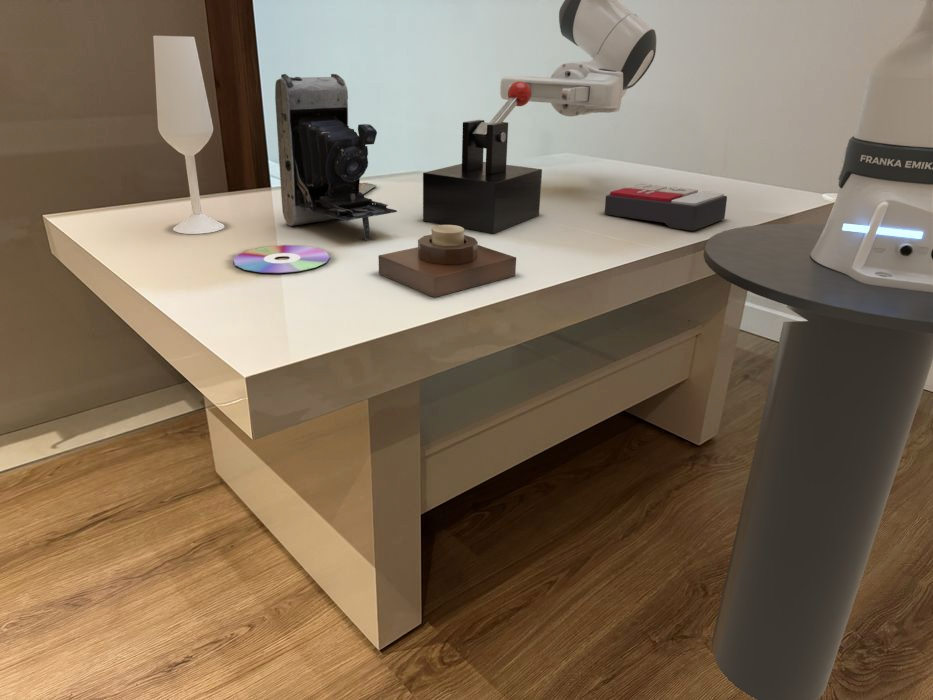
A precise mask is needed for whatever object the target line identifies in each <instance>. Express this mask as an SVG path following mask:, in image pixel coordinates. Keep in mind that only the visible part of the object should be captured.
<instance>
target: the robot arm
mask: <svg viewBox="0 0 933 700" xmlns="http://www.w3.org/2000/svg"><path fill="white" fill-rule="evenodd" d="M920 1H922V2H925V3H924V6H923V9H921V12H920V15H919V16H918V18H917V20H916V22H915V23H914V25H913V27H912V28H911V29H910V30H909V32H908V33H907V35H906V36H905V37H904V38H903V39H902V40H901V41H900V42H899V43H898V44H896V45H895V46H892V48H890V49H888V50H887V51H885V52H883V54H881V55H880V56H879V57H878V58H877V59H876V61H874V63H873V64H872V66H871V68H870V70H869V73H868V76H867V80H866V85H865V89H864V93H863V97H862V101H861V105H860V109H859V113H858V119H857V122H856V125H855V130H854V131H855V132H854V133H853V134H854V135H853V136H851V137H850V138H849V140H848V143H847V146H846V147H845V149H844V153H843V157H842V161H841V165H840V170H839V175H838V179H837V180H838V184H837V185H838V191H837V194H836V197H835V199H834V203H833V205H832V209H831V211H830V214H829V216H828V218H827V221H826V223H825V224H824V225H825V227H824V230H823V232H822V234H821V236H820V238H819V239H818V241H817V243H816V245H815V247H814V248H813V250H812V251H811V253H810V256H811V258H812V259H813V260H815V261H816V262H818V263H819V264H821V265H823V266H825V267H828V268H830V269H833V270H836V271H839V272H841V273H844V274H846V275H848V276H850V277H851V278H853V279H855V280H857V281H859V282H861V283H864V284H868V285H875V286H884V287H892V288H900V289H908V290H916V291H924V292H932V293H933V0H920ZM558 22H559V24H558V25H559V30H560V34H561V35H562V37H564V38H565V39H567V40H568V41H570V42H571V43H572V44H574V45H575V46H577V47H579V48H580V49H581V50H583V51H584V52H585V54H587V55H588V56H590V57H591V60H590V61H568V62H565V63H562V64H560V65H559V66H558V67H557V68H556V69H555V70H554V71H553V73H552V74H551V76H549V77H548V76H532V75H531V76H529V75H518V76H517V75H515V76H514V75H511V76H503V77H502V78H501V80H500V86H499V87H500V88H499V90H500V91H499V95H500V98H501V100H502V99H503V100H506V101H508V100H509V99H508V89H509V87H510V86H511V85H512V84H513V83H514V82H517V81H523V82H525V83H527V84H528V85H529V87H530V89H531V98H530V100H529V103H532V102H533V103H546V104H551V106H552V108H553V109H554V110H555V111H556V112H557V113H558V114H560V115H562V116H565V117H578V116H586V115H590V114H595V113H596V114H598V113H618V112H619V111H620V109H621V104H622V99H623V97H624V96H625V95H626V93H627V90H628V89H632V88H633V87H634V86H635V85H636V84H637V83H638V82H639V81H641V79H642V78H643V77H644V76H645V74H646V73H647V72H648V70H649V68H650V67H651V65H652V64H653V62H654V59H655V56H656V52H657V34H656V30H655V29H653V28H652V27H651V26H650V25H649V24H648V23H647V22H645V21H644V20H643V19H642V18H641V17H639V15H637V14H636V13H634V12H633V11H632V10H630V9H629V8H628V7H626V6H625V5H624V4H623V3H622V2H620V1H619V0H564V1H563V2H562V4H561V6H560V8H559V11H558Z"/></svg>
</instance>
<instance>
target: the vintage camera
mask: <svg viewBox="0 0 933 700" xmlns="http://www.w3.org/2000/svg"><path fill="white" fill-rule="evenodd" d="M274 86H275V88H274V97H275V98H274V102H275V117H276V133H277V147H278V149H277V150H278V165H279V179H280V196H281V197H280V198H281V210H282V216H283V219H284V221H285V223H286V225H288V226H289V227H293V226H301V225H307V224H314V223H319V222H326V221H332V220H341V221H343V222H349V221H353V220H358V219H361V220H362V228H363V229H362V230H363V233H364V235H363V236H364V240H365V241H368V240H371V233H370V232H371V231H370V221H369V218H371V217H377V216H383V215H388V214H394V213H398V210H397V209H393V208H388V206H389V204H387V203H382V202H379V201H375V200H373V199H372V198H368V197H365V195H364V194H362V193H361V192H359V183H361V182H360V180H361V177H362V176H364V174H365V173H366V170H367V168H368V167H369V160H368V155H369V148H368V145H374V144H375V142H376V139H377V134H378V131H377V129H376V128H375V127H374V126H373V125H371V124H368V123H361V124H358V125H357V132H356V131H355V129H354V128H350V126H349V106H348V105H349V102H348V99H349V94H348V86H347V84H346V82H345V79H344V78H342V77H341V76H340V75H339V74H337V73H330V76H311V77H310V76H309V77H308V76H307V77H306V76H305V77H301V76H295V77H292V76H289V75H288V74H286V73H283V74H281V76H280V78H278V79H276V80H275V85H274Z"/></svg>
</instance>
